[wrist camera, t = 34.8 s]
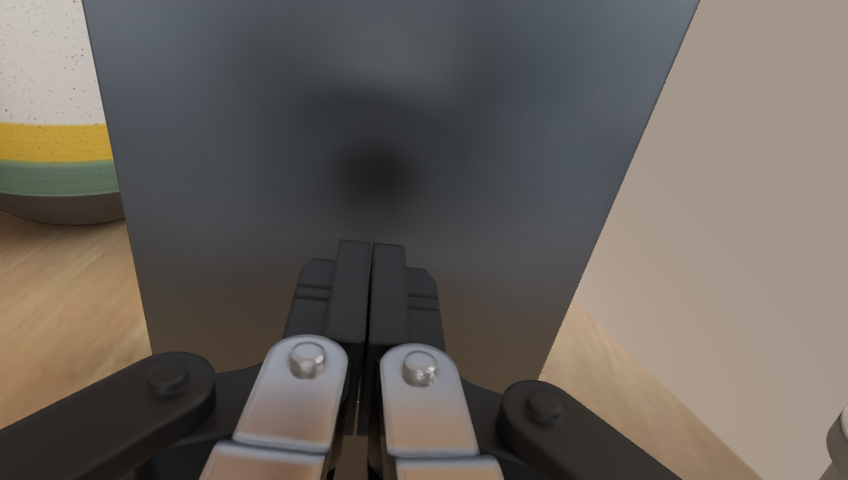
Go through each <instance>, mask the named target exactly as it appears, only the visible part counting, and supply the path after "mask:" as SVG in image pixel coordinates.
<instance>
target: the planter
mask: <svg viewBox="0 0 848 480" xmlns="http://www.w3.org/2000/svg"><path fill="white" fill-rule="evenodd" d="M0 210H2V211H4V212H7V213H9V214H12V215H15V216H18V217H21V218H24V219H28V220H33V221H37V222H42V223H48V224H58V225H87V224H96V223H103V222H108V221H113V220H117V219H121V218H124V217H125V215H124V210H123V205H122V200H121V195H120V190H119V185H118V180H117V175H116V170H115V165H114V160H113V155H112V150H111V145H110V140H109V135H108V130H107V125H106V121H105V116H104V111H103V106H102V101H101V96H100V91H99V86H98V81H97V76H96V71H95V66H94V61H93V56H92V51H91V46H90V41H89V36H88V31H87V26H86V21H85V16H84V11H83V6H82V1H81V0H0Z"/></svg>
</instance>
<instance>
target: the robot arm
mask: <svg viewBox="0 0 848 480" xmlns="http://www.w3.org/2000/svg"><path fill="white" fill-rule="evenodd" d="M370 251H371V242H364V241H354V240H345V239H339V245H338V250H337V256H336V260H330V259H320V258H313V259H312V260H311V261H309V262H308V263H307V264H306V265H305V266H304V267H303V268H302V269H301V270H300V274H299V277H298V281H297V286H296V288H295V292H294V297H293V299H292V303H291V306H290V310H289V314H288V317H287V321H286V325H285V328H284V332H283V336H282V339H281V341H279V342H278V343H276V344H275V345H274V346H273V347H272V348H271V349H270V350H269V352H268V353H267V355H266V358H265V360H264V361H263V362H261V363H259V364H256V365H254V366H251V367H248V368H244V369H239V370H234V371H227V372H221V373H215V370H214V368H213V366H212V365H211V363H210V362H209V361H208V360H207V359H205V358H203V357H202V356H199V355H197V354H193V353H189V352H181V351H173V352H164V353H159V354H155V355H152V356H149V357H147V358H144V359H142V360H140V361H138V362H136V363H134V364H132V365H130V366H128V367H126V368H124V369H122V370H120V371H118V372H116V373H114V374H112V375H110V376H108V377H106V378H104V379H102V380H100V381H98V382H96V383H94V384H92V385H90V386H88V387H86V388H84V389H82V390H80V391H78V392H76V393H74V394H72V395H70V396H68V397H66V398H64V399H61V400H59V401H57V402H55V403H53V404H51V405H49V406H47V407H45V408H43V409H41V410H39V411H37V412H35V413H33V414H31V415H29V416H27V417H25V418H23V419H21V420H19V421H17V422H15V423H13V424H11V425H9V426H7V427H5V428H3V429H1V430H0V480H334V479H335V474H336V466H337V463H338V462H339V460H340V457H341V453H342V445H343V437H344V435H348V436H353V432H354V424H355V416H356V408H357V400H358V392H359V406H358V421H357V436H367V437H368V447H367V457H366V464H365V472H364V480H682V479H681V478H680V477H678V476H677V475H676V474H674V473H673V472H672V471H670V470H669V469H668V468H666V467H665V466H664V465H662V464H661V463H660V462H658V461H657V460H656V459H654V458H653V457H652V456H650V455H649V454H648V453H646V452H645V451H644V450H642V449H641V448H640V447H638V446H637V445H636V444H634V443H633V442H632V441H630V440H629V439H628V438H626V437H625V436H624V435H622V434H621V433H620V432H618V431H617V430H616V429H614V428H613V427H612V426H610V425H609V424H608V423H606V422H605V421H604V420H602V419H601V418H600V417H598V416H597V415H596V414H594V413H593V412H592V411H590V410H589V409H588V408H586V407H585V406H584V405H582V404H581V403H580V402H578V401H577V400H576V399H574V398H573V397H572V396H570V395H569V394H568V393H566V392H565V391H563V390H562V389H560V388H558V387H556V386H555V385H552V384H549V383H547V382H543V381H538V380H521V381H518V382H515V383H513V384H511V385H510V386H509V387H508V388H507V389H506V390H505V392H504V394H500V393H497V392H494V391H491V390H487V389H484V388H481V387H479V386H476V385H474V384H472V383H470V382H468V381H467V380H465V379H464V378H462V377H461V376H460V375H459V373H458V370H457V367H456V365H455V363H454V362H453V360H452V359H451V358H450V357H449V356H448V355H447V354H446V348H445V341H444V334H443V327H442V320H441V313H440V306H439V299H438V291H437V284H436V281H435V280H434V279H433V278H432V276H431V275H430V274H429V273H428V272H427V270H426V269H420V268H411V267H406V254H405V246H403V245H393V244H384V243H373V250H372V258H371V266H370ZM369 267H370V274H369ZM359 384H360V391H359Z"/></svg>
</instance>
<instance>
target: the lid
mask: <svg viewBox="0 0 848 480" xmlns="http://www.w3.org/2000/svg"><path fill="white" fill-rule="evenodd" d="M81 1H82V6H83V11H84V16H85V21H86V26H87V31H88V36H89V41H90V46H91V51H92V56H93V61H94V66H95V71H96V76H97V81H98V86H99V91H100V96H101V101H102V106H103V111H104V116H105V121H106V125H107V130H108V135H109V140H110V145H111V150H112V155H113V160H114V165H115V170H116V175H117V180H118V185H119V190H120V195H121V200H122V205H123V210H124V215H125V220H126V225H127V230H128V235H129V240H130V245H131V250H132V255H133V260H134V265H135V270H136V275H137V280H138V285H139V290H140V295H141V300H142V305H143V310H144V315H145V320H146V325H147V330H148V335H149V340H150V345H151V350H152V355H155V354H159V353H164V352H173V351H181V352H189V353H193V354H197V355H199V356H202V357H203V358H205V359H207V360H208V361H209V362H210V363H211V365H212V366H213V368H214V370H215V373H221V372H227V371H234V370H239V369H244V368H248V367H251V366H254V365H256V364H259V363H261V362H263V361H264V360H265V358H266V355H267V353H268V352H269V350H270V349H271V348H272V347H273V346H274V345H275V344H276V343H278V342H279V341H281V339H282V336H283V332H284V328H285V325H286V321H287V317H288V314H289V310H290V306H291V303H292V299H293V297H294V292H295V288H296V286H297V281H298V277H299V274H300V270H301V269H302V268H303V267H304V266H305V265H306V264H307V263H308V262H309V261H311V260H312V259H313V258H320V259H330V260H336V256H337V250H338V245H339V239H345V240H354V241H364V242H371V251H370V266H371V258H372V250H373V243H384V244H393V245H403V246H405V254H406V267H411V268H420V269H426V270H427V272H428V273H429V274H430V275H431V276H432V278H433V279H434V280H435V281H436V284H437V291H438V299H439V306H440V313H441V320H442V327H443V334H444V341H445V348H446V354H447V355H448V356H449V357H450V358H451V359H452V360H453V362H454V363H455V365H456V367H457V370H458V373H459V375H460V376H461V377H462V378H464V379H465V380H467V381H468V382H470V383H472V384H474V385H476V386H479V387H481V388H484V389H487V390H491V391H494V392H497V393H500V394H504V392H505V390H506V389H507V388H508V387H509V386H510V385H511V384H513V383H515V382H518V381H521V380H538V378H539V375H540V373H541V371H542V368H543V366H544V364H545V361H546V359H547V357H548V354H549V352H550V350H551V347H552V345H553V343H554V340H555V338H556V336H557V333H558V331H559V329H560V326H561V324H562V322H563V319H564V317H565V315H566V312H567V310H568V308H569V305H570V303H571V301H572V298H573V296H574V294H575V291H576V289H577V287H578V284H579V282H580V280H581V277H582V275H583V272H584V270H585V268H586V266H587V263H588V261H589V259H590V256H591V254H592V252H593V249H594V247H595V245H596V242H597V240H598V238H599V235H600V233H601V231H602V228H603V226H604V224H605V221H606V219H607V217H608V214H609V212H610V210H611V207H612V205H613V203H614V200H615V198H616V196H617V193H618V191H619V189H620V186H621V184H622V182H623V179H624V177H625V175H626V172H627V169H628V168H629V165H630V163H631V160H632V158H633V156H634V154H635V151H636V149H637V147H638V144H639V142H640V140H641V137H642V135H643V132H644V130H645V128H646V126H647V123H648V121H649V119H650V116H651V114H652V112H653V109H654V107H655V105H656V102H657V100H658V98H659V95H660V93H661V91H662V88H663V86H664V84H665V81H666V79H667V77H668V74H669V72H670V70H671V67H672V65H673V63H674V60H675V58H676V56H677V53H678V51H679V49H680V46H681V44H682V41H683V39H684V37H685V35H686V32H687V30H688V28H689V25H690V23H691V21H692V18H693V16H694V14H695V11H696V9H697V7H698V4H699V2H700V0H81ZM369 274H370V267H369ZM359 391H360V384H359ZM358 400H359V392H358Z"/></svg>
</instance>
